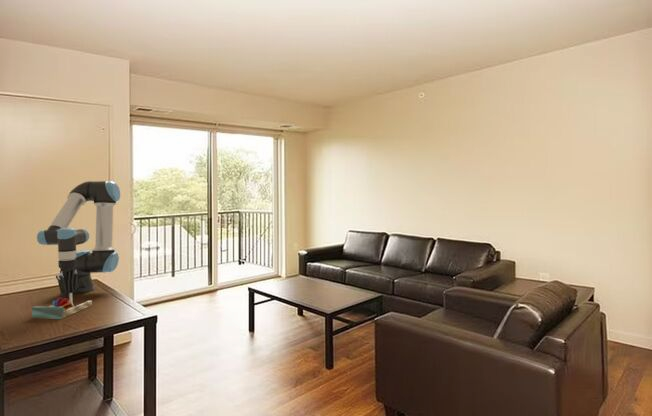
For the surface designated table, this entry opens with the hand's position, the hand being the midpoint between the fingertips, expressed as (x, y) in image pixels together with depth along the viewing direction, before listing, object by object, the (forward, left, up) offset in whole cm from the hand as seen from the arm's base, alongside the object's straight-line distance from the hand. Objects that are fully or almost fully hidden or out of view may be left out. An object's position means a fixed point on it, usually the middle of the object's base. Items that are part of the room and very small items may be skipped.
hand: (69, 305), depth 192 cm
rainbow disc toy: (+5, 0, -2) cm, 5 cm away
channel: (+3, 0, -2) cm, 3 cm away
